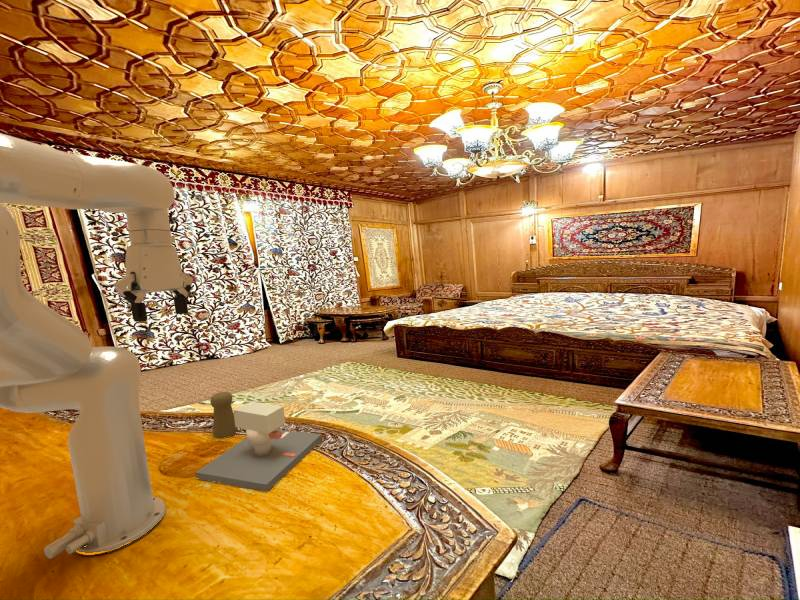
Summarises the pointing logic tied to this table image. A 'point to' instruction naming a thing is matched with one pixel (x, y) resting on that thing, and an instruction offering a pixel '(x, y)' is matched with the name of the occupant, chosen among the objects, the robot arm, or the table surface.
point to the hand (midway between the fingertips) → (162, 317)
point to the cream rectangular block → (260, 421)
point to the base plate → (260, 461)
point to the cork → (223, 415)
